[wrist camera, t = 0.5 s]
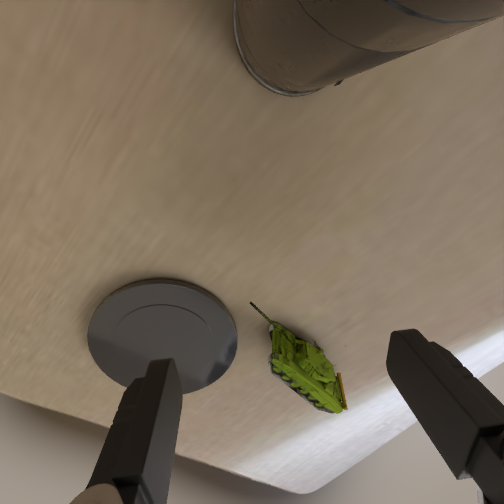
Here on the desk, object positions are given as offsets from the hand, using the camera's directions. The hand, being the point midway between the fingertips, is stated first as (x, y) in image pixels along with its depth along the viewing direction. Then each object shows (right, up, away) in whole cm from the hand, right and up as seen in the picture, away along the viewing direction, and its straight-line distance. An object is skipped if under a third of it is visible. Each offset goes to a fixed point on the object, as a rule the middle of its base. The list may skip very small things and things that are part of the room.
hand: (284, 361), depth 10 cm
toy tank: (+4, -5, +23) cm, 24 cm away
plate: (-11, -6, +21) cm, 25 cm away
